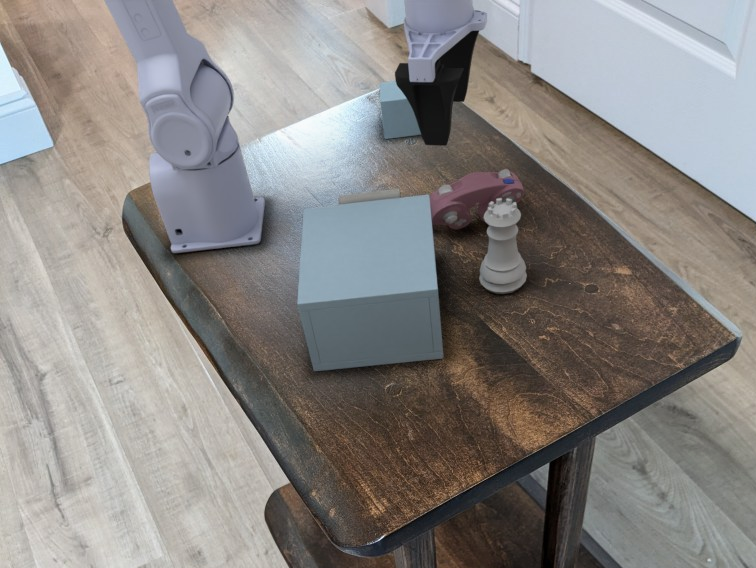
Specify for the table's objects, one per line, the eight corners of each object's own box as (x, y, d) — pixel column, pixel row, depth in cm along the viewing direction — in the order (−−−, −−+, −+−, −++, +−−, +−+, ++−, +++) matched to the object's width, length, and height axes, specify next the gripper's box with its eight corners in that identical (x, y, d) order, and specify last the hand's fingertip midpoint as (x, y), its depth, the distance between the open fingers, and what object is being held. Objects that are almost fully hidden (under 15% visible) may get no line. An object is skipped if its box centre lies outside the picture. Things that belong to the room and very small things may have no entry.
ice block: (384, 139, 99) (380, 101, 96) (384, 119, 102) (379, 82, 98) (422, 134, 99) (419, 96, 95) (421, 115, 101) (417, 77, 98)
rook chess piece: (469, 283, 82) (465, 208, 75) (501, 260, 83) (501, 185, 77) (504, 302, 79) (503, 227, 73) (536, 278, 81) (538, 203, 75)
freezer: (318, 276, 85) (303, 208, 79) (435, 263, 84) (429, 193, 78) (313, 371, 77) (297, 304, 71) (443, 358, 76) (437, 288, 70)
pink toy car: (430, 250, 88) (435, 213, 81) (416, 211, 89) (420, 171, 82) (521, 225, 89) (534, 186, 82) (507, 187, 89) (518, 145, 83)
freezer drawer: (323, 233, 88) (313, 182, 83) (425, 221, 87) (420, 169, 82) (319, 346, 77) (307, 294, 73) (434, 334, 77) (429, 280, 72)
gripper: (466, -1, 65) (472, 166, 75) (501, -78, 73) (502, 82, 84) (376, 0, 66) (394, 162, 77) (420, -75, 75) (431, 81, 85)
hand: (445, 121), depth 81 cm, fingers open, 7 cm apart
